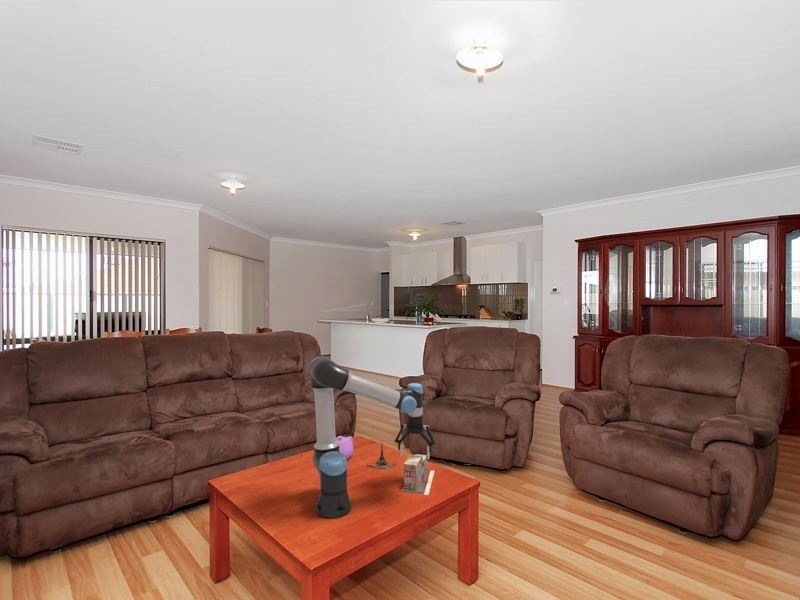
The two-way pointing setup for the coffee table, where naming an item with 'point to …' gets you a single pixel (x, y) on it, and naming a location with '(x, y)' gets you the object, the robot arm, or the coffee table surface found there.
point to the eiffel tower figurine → (382, 462)
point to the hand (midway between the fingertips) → (414, 457)
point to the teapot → (345, 445)
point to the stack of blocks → (414, 471)
